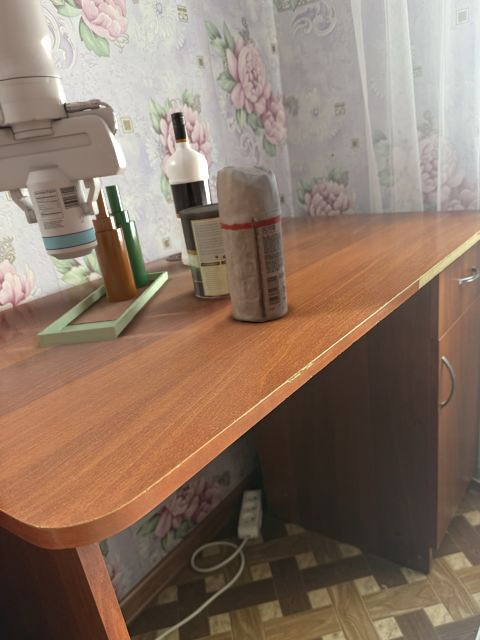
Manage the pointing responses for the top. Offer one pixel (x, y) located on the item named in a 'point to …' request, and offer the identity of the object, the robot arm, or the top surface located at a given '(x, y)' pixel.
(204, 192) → the vodka
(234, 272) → the spray can
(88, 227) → the beverage can
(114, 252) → the amber bottle
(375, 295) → the top surface
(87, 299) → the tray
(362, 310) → the top surface
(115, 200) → the green bottle
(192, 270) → the coffee can
